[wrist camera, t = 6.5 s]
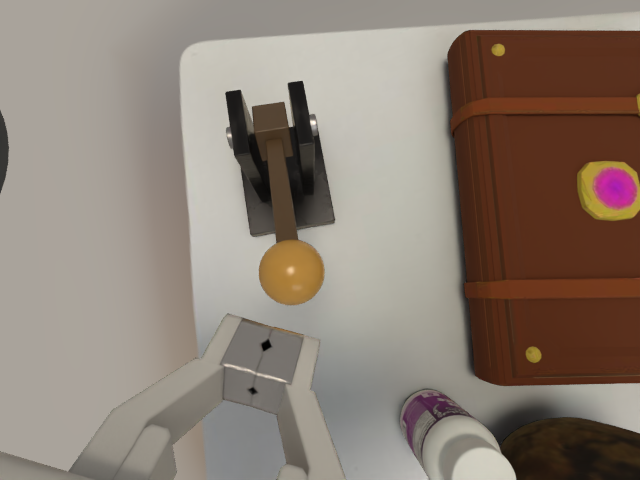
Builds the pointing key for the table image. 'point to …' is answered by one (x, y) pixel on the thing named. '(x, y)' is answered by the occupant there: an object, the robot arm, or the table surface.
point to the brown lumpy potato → (573, 451)
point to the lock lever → (284, 217)
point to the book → (550, 202)
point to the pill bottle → (451, 440)
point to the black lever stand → (302, 166)
